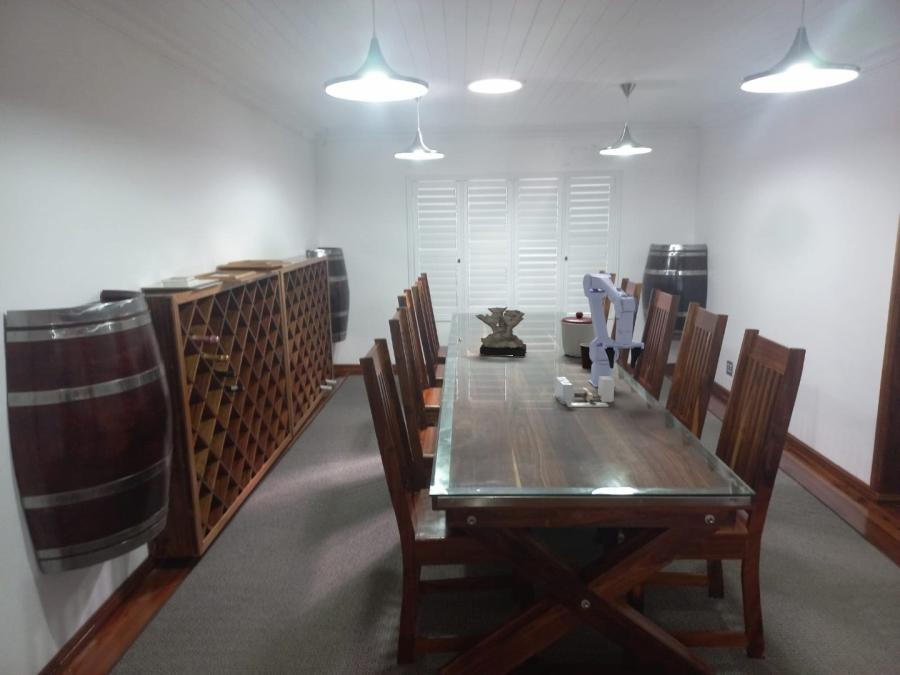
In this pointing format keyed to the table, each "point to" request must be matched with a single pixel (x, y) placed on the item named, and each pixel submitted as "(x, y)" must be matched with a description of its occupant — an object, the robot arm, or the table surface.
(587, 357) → the coffee mug
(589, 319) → the canister
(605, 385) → the block
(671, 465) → the table surface
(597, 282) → the robot arm
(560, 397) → the frame
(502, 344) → the coral
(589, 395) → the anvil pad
